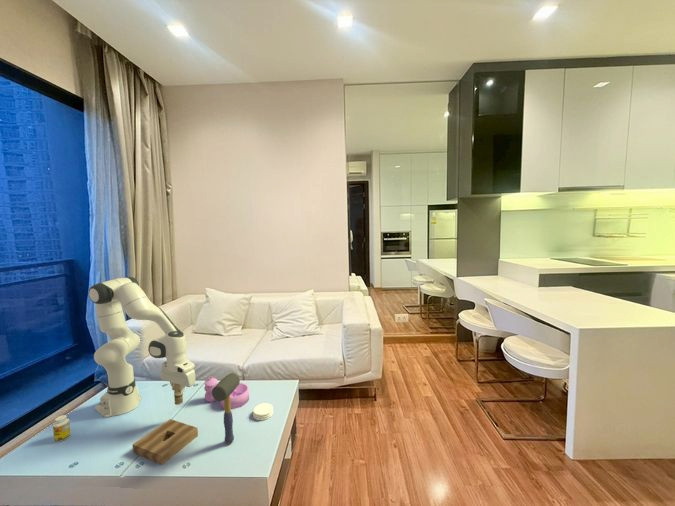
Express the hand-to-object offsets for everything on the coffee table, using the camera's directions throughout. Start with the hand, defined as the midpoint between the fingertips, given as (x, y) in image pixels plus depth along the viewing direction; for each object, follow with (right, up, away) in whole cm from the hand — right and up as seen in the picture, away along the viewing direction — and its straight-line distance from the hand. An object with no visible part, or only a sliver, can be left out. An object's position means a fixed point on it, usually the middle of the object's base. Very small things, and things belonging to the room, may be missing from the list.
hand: (178, 390), depth 147 cm
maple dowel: (0, -6, +1) cm, 6 cm away
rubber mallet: (+31, -17, -15) cm, 38 cm away
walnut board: (+3, -17, -15) cm, 23 cm away
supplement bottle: (-49, -18, -9) cm, 53 cm away
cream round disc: (+41, -15, +5) cm, 44 cm away
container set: (+17, -14, +18) cm, 29 cm away
